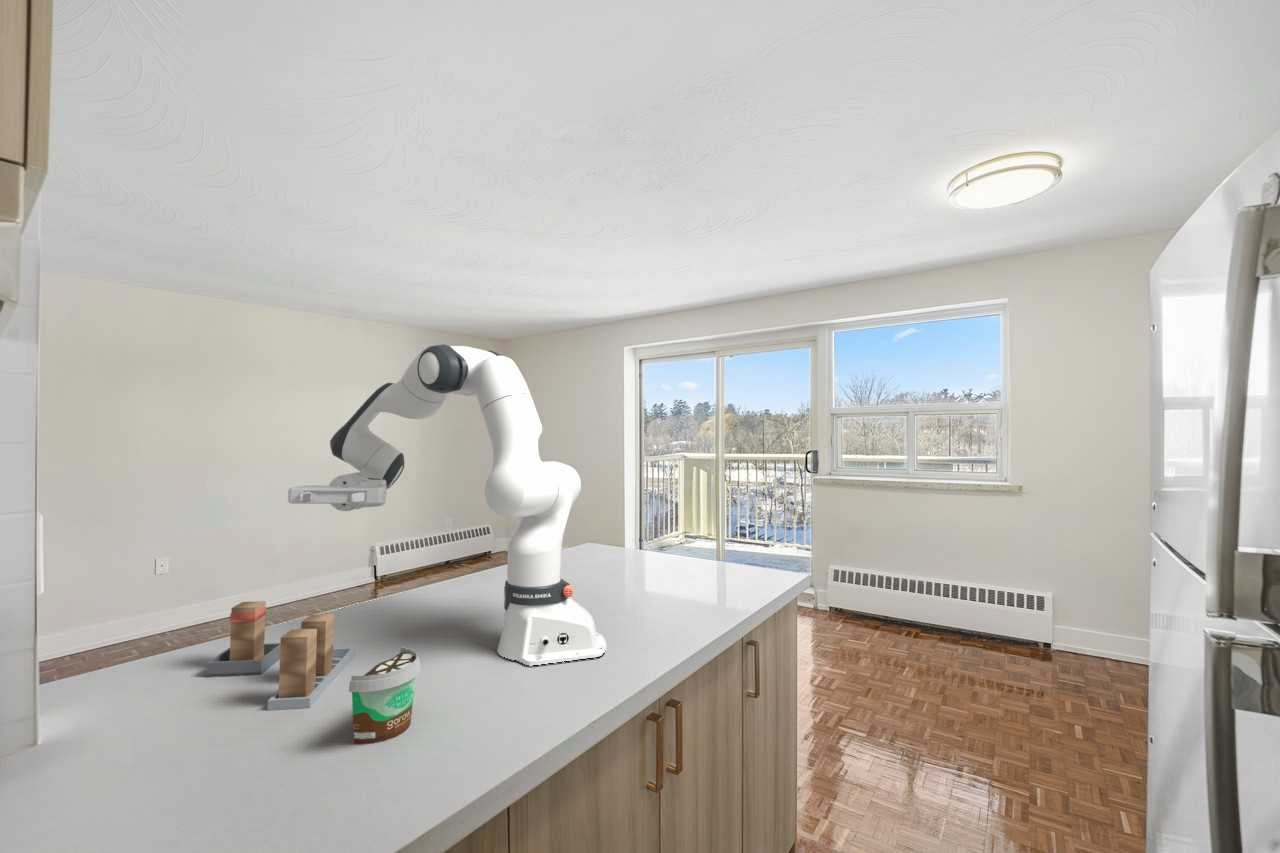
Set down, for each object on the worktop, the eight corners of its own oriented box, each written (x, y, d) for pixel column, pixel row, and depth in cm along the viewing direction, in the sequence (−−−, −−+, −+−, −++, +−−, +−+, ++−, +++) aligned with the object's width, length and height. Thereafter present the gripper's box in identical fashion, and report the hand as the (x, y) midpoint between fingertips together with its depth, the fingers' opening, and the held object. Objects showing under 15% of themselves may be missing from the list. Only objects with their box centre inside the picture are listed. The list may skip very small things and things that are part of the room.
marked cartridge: (264, 658, 108) (266, 601, 109) (253, 667, 104) (255, 607, 105) (240, 659, 108) (242, 601, 108) (228, 668, 104) (230, 608, 104)
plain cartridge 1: (314, 694, 95) (317, 628, 95) (305, 705, 91) (307, 636, 91) (289, 695, 94) (291, 629, 95) (278, 706, 90) (280, 637, 91)
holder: (354, 655, 112) (354, 647, 112) (309, 707, 90) (310, 698, 90) (321, 656, 111) (321, 648, 111) (267, 710, 89) (267, 700, 89)
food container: (385, 754, 77) (387, 681, 78) (346, 749, 79) (348, 676, 79) (435, 712, 90) (437, 649, 90) (400, 708, 91) (402, 645, 91)
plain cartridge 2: (332, 674, 103) (334, 614, 103) (323, 683, 99) (325, 621, 99) (308, 675, 102) (310, 614, 103) (299, 685, 98) (301, 621, 99)
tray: (283, 655, 111) (283, 642, 111) (261, 674, 102) (261, 660, 102) (232, 657, 110) (233, 644, 110) (205, 677, 101) (206, 663, 101)
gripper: (302, 478, 135) (275, 483, 121) (392, 479, 138) (376, 484, 125) (301, 505, 135) (274, 512, 121) (392, 505, 138) (375, 512, 125)
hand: (327, 498), depth 123 cm, fingers open, 8 cm apart
